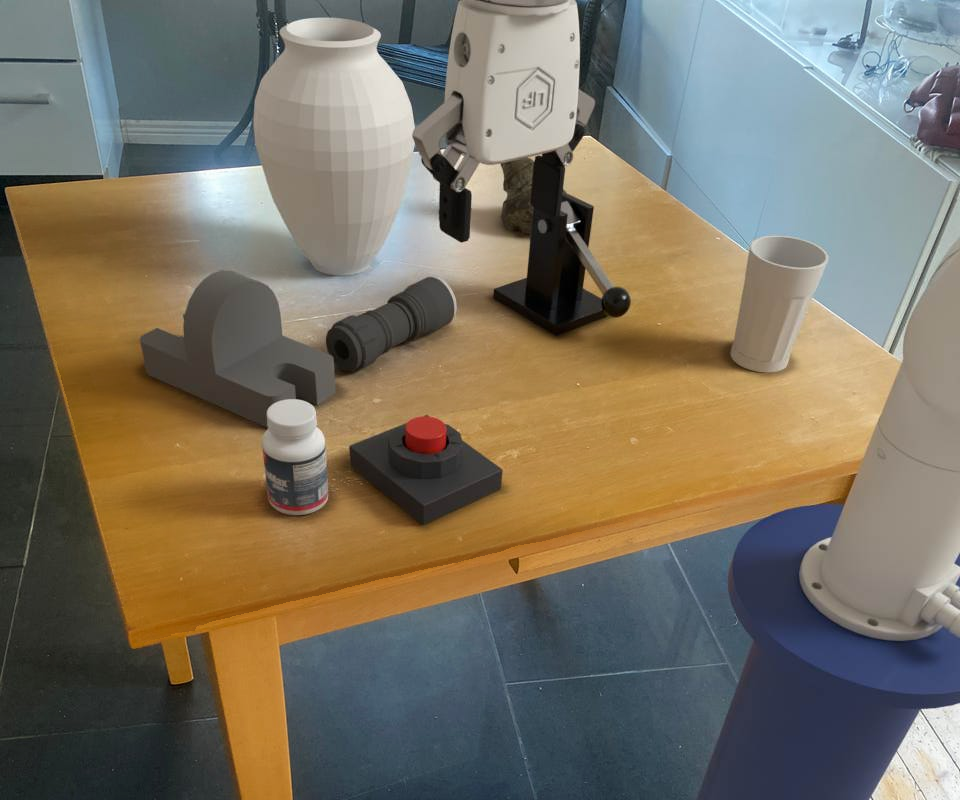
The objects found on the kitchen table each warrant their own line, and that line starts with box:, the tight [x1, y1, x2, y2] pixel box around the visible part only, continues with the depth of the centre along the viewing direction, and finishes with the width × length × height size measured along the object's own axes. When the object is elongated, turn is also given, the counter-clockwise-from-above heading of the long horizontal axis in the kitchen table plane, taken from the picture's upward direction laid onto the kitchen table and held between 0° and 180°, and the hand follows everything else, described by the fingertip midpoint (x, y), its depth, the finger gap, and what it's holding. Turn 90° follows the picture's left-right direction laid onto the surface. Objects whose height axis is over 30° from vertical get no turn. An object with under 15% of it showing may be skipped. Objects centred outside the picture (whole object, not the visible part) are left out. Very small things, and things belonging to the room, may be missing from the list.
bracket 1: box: [139, 269, 336, 429], centre depth 96 cm, size 10×18×11 cm, turn 57°
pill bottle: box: [261, 398, 329, 516], centre depth 83 cm, size 5×5×9 cm
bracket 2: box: [492, 192, 609, 337], centre depth 111 cm, size 11×9×12 cm
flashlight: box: [325, 275, 458, 372], centre depth 104 cm, size 15×5×5 cm, turn 141°
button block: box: [348, 414, 504, 526], centre depth 88 cm, size 11×9×4 cm
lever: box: [561, 201, 632, 318], centre depth 108 cm, size 14×3×3 cm, turn 40°
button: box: [405, 415, 446, 454], centre depth 87 cm, size 4×4×2 cm
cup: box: [730, 235, 829, 373], centre depth 105 cm, size 8×8×12 cm
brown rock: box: [499, 157, 598, 235], centre depth 128 cm, size 11×12×10 cm
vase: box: [253, 17, 416, 277], centre depth 111 cm, size 18×18×25 cm
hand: (500, 223), depth 81 cm, fingers open, 9 cm apart
